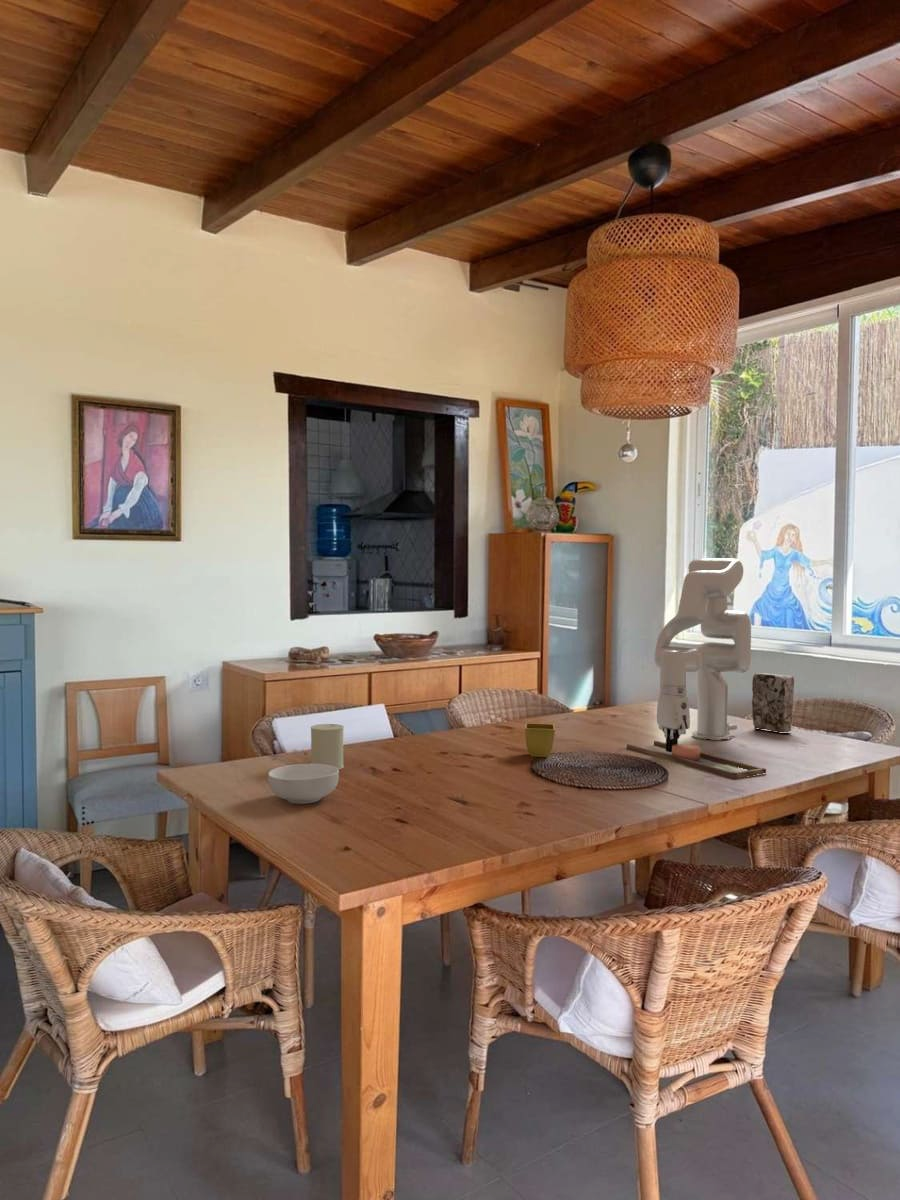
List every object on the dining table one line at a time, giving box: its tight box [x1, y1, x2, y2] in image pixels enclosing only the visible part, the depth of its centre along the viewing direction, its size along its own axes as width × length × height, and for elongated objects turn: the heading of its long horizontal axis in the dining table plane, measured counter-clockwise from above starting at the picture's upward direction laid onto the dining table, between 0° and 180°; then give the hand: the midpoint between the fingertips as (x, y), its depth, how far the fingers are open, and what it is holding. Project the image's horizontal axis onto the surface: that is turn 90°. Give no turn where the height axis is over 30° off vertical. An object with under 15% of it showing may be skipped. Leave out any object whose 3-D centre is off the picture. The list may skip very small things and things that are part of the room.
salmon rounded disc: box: [672, 743, 701, 761], centre depth 261 cm, size 8×8×4 cm
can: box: [310, 723, 345, 771], centre depth 247 cm, size 9×9×12 cm
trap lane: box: [626, 740, 767, 780], centre depth 259 cm, size 12×44×2 cm, turn 29°
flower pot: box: [524, 722, 556, 758], centre depth 265 cm, size 9×9×9 cm
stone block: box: [751, 672, 795, 732], centre depth 306 cm, size 13×7×20 cm, turn 42°
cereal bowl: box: [267, 763, 340, 805], centre depth 214 cm, size 17×17×7 cm
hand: (671, 751), depth 267 cm, fingers closed
